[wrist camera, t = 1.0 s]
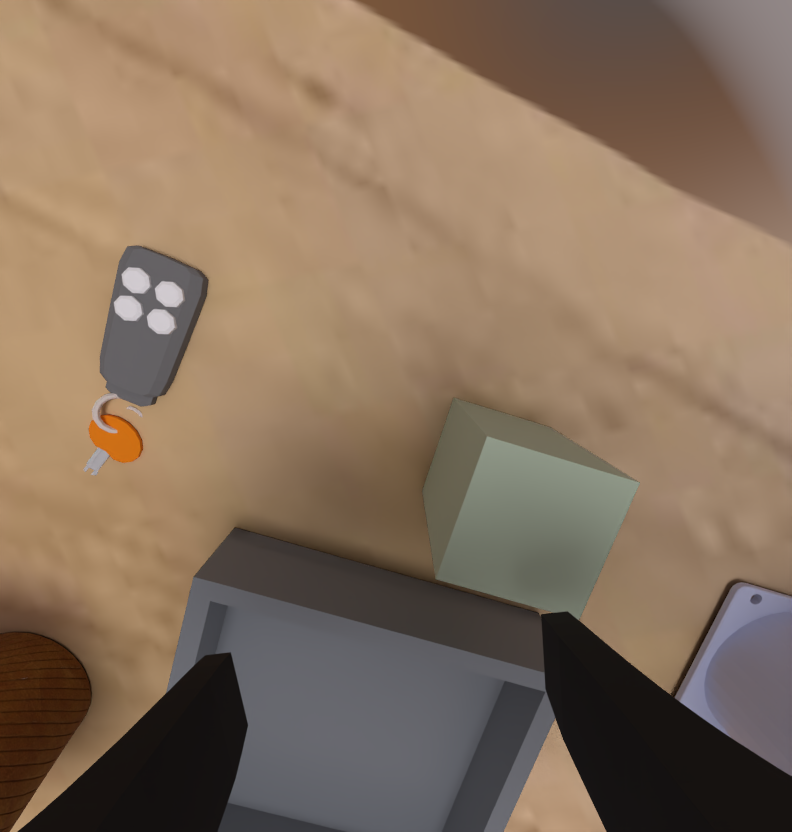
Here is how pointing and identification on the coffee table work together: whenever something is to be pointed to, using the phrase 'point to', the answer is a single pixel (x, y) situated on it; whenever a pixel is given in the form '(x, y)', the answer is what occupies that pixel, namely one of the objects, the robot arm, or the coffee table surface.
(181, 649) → the tray
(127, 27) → the coffee table surface
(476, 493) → the block
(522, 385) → the coffee table surface
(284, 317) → the coffee table surface
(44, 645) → the disposable coffee cup
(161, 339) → the key chain
